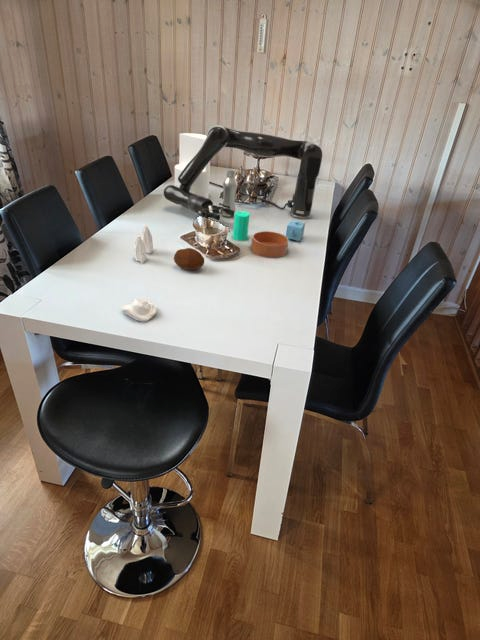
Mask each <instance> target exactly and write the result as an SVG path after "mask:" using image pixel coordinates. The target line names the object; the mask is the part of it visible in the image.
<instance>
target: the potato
mask: <svg viewBox="0 0 480 640" xmlns="http://www.w3.org/2000/svg"><path fill="white" fill-rule="evenodd" d="M173 261H174V263H175V265H176V266H178V267H179V268H181V269H183V270H189V271H197V270H199V269H200V268H202V267H203V266H204V265H205V257H204V256H203V255H202V253H201V252H200V251H198V250H197V249H195V248H191V247H187V248H179V249H178V250H176V252H175V253H174V255H173Z"/></svg>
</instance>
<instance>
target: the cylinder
mask: <svg viewBox="0 0 480 640" xmlns="http://www.w3.org/2000/svg"><path fill="white" fill-rule="evenodd" d="M206 138H207V134H202V133H195V132H194V133H192V132H181V133H179V147H178V148H179V152H178V153H179V155H178V157H179V158H178V160H179V161H178V163H176V164H175V165H174V186H176V187H178V188H179V187H180V185H181V183H180V182H179V181H178V177H179V175H180V174H181V172H182V171H183V170H184V168H185V167H186V166H187V164H188V163H189V162H190V161H191V160H192V159H193V157H194V156H195V155H196V154H197V153H198V151H199V150H200V149H201V147H202V145H203V144H204V142H205V140H206ZM210 172H211V160H210V161H209V163H208V164H207V165H206V167H205V168H204V169H203V171H202V172H201V174H200V175H199V177H198V178H197V179H196V181H195V182H194V183H193V185H192V186H191V188H190V191H189V192H191V193H193V194H196V195H200V196H203V197H205V198H208V199H209V196H210V183H209V182H210V176H211V175H210V174H211V173H210Z"/></svg>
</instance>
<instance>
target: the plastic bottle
mask: <svg viewBox="0 0 480 640" xmlns="http://www.w3.org/2000/svg"><path fill="white" fill-rule="evenodd" d="M235 177H236V171H235V170H227V171H226V177H225V179H224V180H223V183H222V186H223V187H222V188H223V189H222V190H223V195H222V196H223V197H222V204H225V205H228V206H230V209H231V210H233V211H234V215H235V213H236V193H237V192H236V190H237V188H238V181H237V179H236V178H235ZM221 215H222V216H223V217H226V218H227V217H229V218H230V217H232V216H231V215H228V214H225V213H223V214H221Z"/></svg>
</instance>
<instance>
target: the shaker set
mask: <svg viewBox="0 0 480 640" xmlns="http://www.w3.org/2000/svg"><path fill="white" fill-rule="evenodd" d="M140 235H141V236H140ZM152 235H153V234H151V232H150V228H149V227H148V225H147V224H144V225H143V228H142V232H141V234H137V235H136V237H135V240H134V242H133V243H134V244H133V247H134V256H135V261H136V262H140V263H141V264H144V263H145V261H147V254H151V253H153V252H154V244H153V236H152Z"/></svg>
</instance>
